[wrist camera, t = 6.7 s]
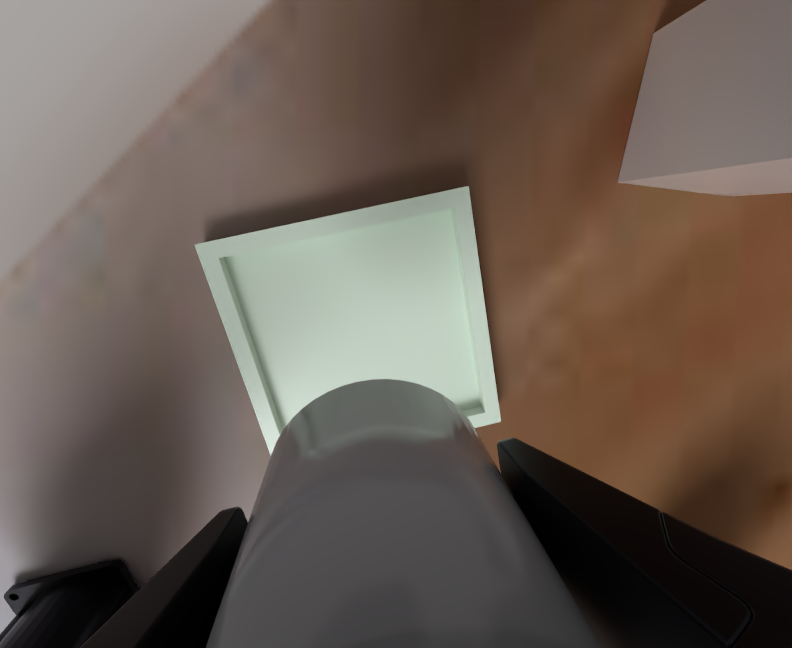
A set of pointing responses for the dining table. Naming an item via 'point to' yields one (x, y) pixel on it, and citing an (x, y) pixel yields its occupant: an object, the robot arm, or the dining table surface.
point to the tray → (357, 306)
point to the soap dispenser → (716, 102)
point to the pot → (391, 537)
